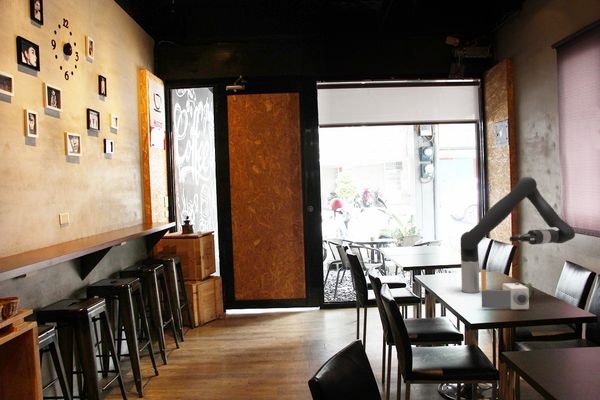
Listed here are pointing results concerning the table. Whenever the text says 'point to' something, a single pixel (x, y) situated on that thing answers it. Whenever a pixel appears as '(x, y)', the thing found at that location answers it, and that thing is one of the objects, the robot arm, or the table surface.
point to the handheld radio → (529, 288)
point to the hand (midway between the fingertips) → (510, 239)
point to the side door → (494, 295)
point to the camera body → (518, 295)
